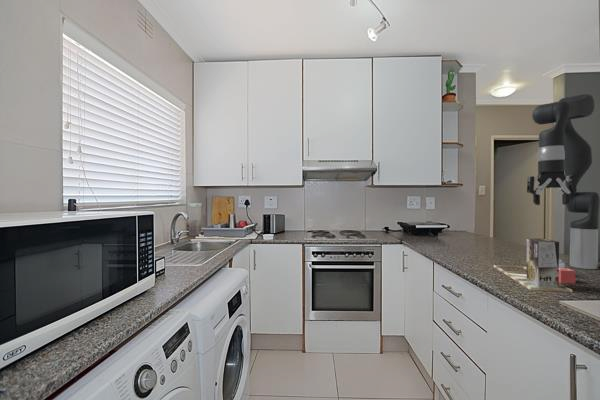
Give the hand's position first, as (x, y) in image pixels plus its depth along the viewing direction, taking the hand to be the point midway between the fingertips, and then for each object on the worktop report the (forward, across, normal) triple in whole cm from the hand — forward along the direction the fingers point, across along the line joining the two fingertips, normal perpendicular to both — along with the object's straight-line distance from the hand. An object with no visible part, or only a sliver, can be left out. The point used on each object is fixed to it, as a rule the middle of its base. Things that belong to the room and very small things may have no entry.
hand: (551, 204), depth 114 cm
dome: (+26, -7, -16) cm, 32 cm away
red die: (+29, -6, -4) cm, 30 cm away
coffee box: (+28, +4, +4) cm, 29 cm away
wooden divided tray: (+29, +5, -8) cm, 30 cm away
